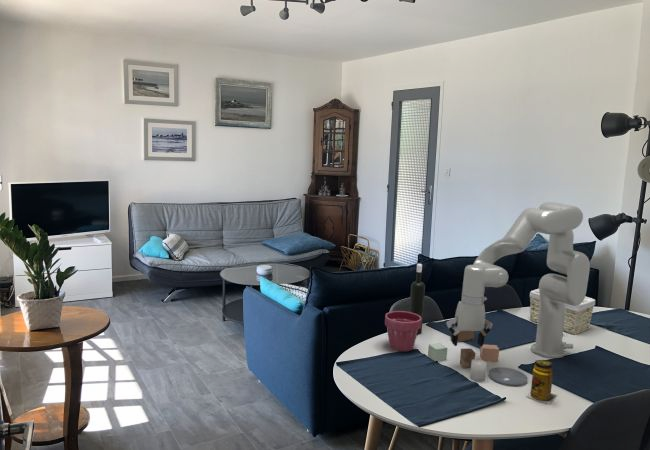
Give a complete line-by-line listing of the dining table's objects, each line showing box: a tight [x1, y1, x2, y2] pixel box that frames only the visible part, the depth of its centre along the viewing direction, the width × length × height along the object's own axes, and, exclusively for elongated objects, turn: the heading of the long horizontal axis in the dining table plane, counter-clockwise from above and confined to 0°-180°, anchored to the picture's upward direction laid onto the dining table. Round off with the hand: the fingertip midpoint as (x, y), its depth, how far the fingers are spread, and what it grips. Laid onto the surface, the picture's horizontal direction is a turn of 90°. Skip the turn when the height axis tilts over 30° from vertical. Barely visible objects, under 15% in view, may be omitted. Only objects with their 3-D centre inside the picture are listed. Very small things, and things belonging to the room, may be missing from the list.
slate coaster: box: [487, 366, 528, 387], centre depth 185 cm, size 13×13×1 cm
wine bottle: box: [408, 263, 426, 335], centre depth 223 cm, size 6×6×30 cm
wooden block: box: [450, 331, 475, 343], centre depth 219 cm, size 9×4×18 cm, turn 118°
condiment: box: [525, 359, 557, 405], centre depth 172 cm, size 7×8×12 cm
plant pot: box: [384, 310, 421, 352], centre depth 208 cm, size 14×14×13 cm
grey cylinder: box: [469, 358, 487, 383], centre depth 183 cm, size 5×5×6 cm
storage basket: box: [529, 288, 596, 335], centre depth 241 cm, size 24×16×15 cm
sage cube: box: [427, 342, 448, 362], centre depth 199 cm, size 5×5×5 cm
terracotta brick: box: [479, 343, 500, 362], centre depth 200 cm, size 6×4×5 cm, turn 86°
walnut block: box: [459, 348, 477, 370], centre depth 193 cm, size 4×4×6 cm
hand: (467, 344), depth 192 cm, fingers open, 9 cm apart
